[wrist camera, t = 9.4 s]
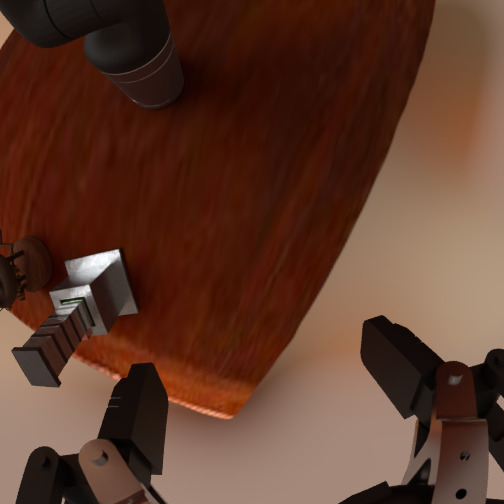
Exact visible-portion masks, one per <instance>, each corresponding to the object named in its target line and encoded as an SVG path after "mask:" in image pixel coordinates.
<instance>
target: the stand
mask: <svg viewBox="0 0 504 504" xmlns="http://www.w3.org/2000/svg"><path fill="white" fill-rule="evenodd" d="M65 265H66V269H67V272H68V275H69V276H68V277H67V278H66V279H64V280H63V281H62V282H61V283H60V284H58V285H57V286H56V287H55V288H54V289H52V290H51V291H50V292H49V293H50V296H51V298H52V301H53V303H54V306H55V308H56V309H57V308H58V307H59V306H60V305H61V304H62V303H63V302H64V301H65V300H66V299H70V298H76V297H82V296H84V297H85V300H86V302H87V305H88V308H89V310H90V313H91V315H92V318H93V320H94V322H93V324H92V325H91V326H90V328H89V329H88V331H87V333H86V334H85V335H84V337H83V338H82V340H89V338H90V336H92V335H102V334H108V333H109V331H110V329H111V327H112V326H113V324H114V322H115V320H116V319H117V317H118V316H119V315H126V314H133V313H138V312H139V308H138V305H137V302H136V299H135V296H134V293H133V290H132V287H131V284H130V280H129V277H128V274H127V270H126V267H125V263H124V260H123V256H122V252H121V249H120V248H118V249H113V250H109V251H104V252H100V253H95V254H91V255H87V256H82V257H78V258H74V259H70V260H66V261H65Z"/></svg>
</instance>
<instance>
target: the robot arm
mask: <svg viewBox="0 0 504 504" xmlns="http://www.w3.org/2000/svg"><path fill="white" fill-rule="evenodd" d="M0 11H1V13H2V14H3V15H4V16H5V18H6V19H7V20H8V21H9V22H10V24H11V25H12V26H13V27H14V28H15V29H16V30H17V32H18V33H19V34H20V35H22V36H23V37H24V38H25V39H26V40H28V41H29V42H30V43H32V44H34V45H36V46H38V47H41V48H53V47H57V46H60V45H63V44H66V43H68V42H71V41H73V40H75V39H77V38H80V37H82V36H84V35H86V37H85V40H84V51H85V55H86V57H87V59H88V60H89V61H90V63H91V64H92V65H94V66H95V67H96V68H97V69H98V70H99V71H100V72H101V73H103V74H104V75H105V76H106V77H107V78H108V79H109V80H111V81H112V82H113V83H114V84H115V85H116V86H117V87H118V88H119V89H121V90H122V91H123V92H124V93H125V94H126V95H127V96H128V97H129V98H130V99H132V100H133V101H134V102H135V103H136V104H137V105H138V106H140V107H142V108H145V109H160V108H163V107H165V106H167V105H169V104H171V103H172V102H173V101H174V100H176V98H177V97H178V96H179V95H180V93H181V91H182V89H183V86H184V76H183V72H182V69H181V65H180V61H179V58H178V54H177V50H176V47H175V43H174V39H173V36H172V33H171V29H170V25H169V21H168V18H167V14H166V10H165V6H164V2H163V0H0ZM360 353H361V359H362V362H363V364H364V366H365V367H366V369H367V370H368V371H369V373H370V374H371V375H372V376H373V378H374V379H375V380H376V381H377V383H378V384H379V386H380V387H381V388H382V390H383V391H384V392H385V393H386V395H387V396H388V398H389V399H390V401H391V402H392V403H393V404H394V405H395V407H396V409H397V410H398V411H399V413H400V414H401V415H402V417H403V418H404V419H407V418H409V417H411V416H412V415H414V414H415V415H416V416H417V418H418V419H417V421H416V426H415V433H414V440H413V446H412V451H411V457H410V462H409V465H408V468H407V470H406V472H405V475H404V477H403V480H402V483H401V485H397V486H390V487H389V485H388V484H387V482H386V481H385V482H382V483H380V484H378V485H376V486H374V487H372V488H369V489H367V490H364V491H362V492H360V493H357V494H354V495H352V496H350V497H349V498H347V499H345V500H344V501H342V502H340V503H339V504H504V500H499V499H488V498H486V494H487V482H488V462H489V461H488V460H489V452H490V453H491V455H492V456H493V457H494V459H495V460H496V462H497V463H498V464H499V466H500V467H501V469H502V470H503V472H504V410H503V409H502V408H501V407H500V406H499V405H498V404H497V400H498V398H499V396H500V395H502V397H503V398H504V349H493V350H491V351H490V352H489V353H488V354H487V356H486V359H485V361H484V363H482V364H479V365H475V366H472V367H468V366H467V365H465V364H464V363H461V362H458V361H449V362H444V361H443V360H442V359H441V358H440V357H439V356H438V355H437V354H436V353H435V352H433V351H432V350H431V349H430V348H429V347H428V346H427V345H426V344H424V343H423V342H421V340H420V339H419V338H418V337H415V335H414V334H413V333H412V332H411V331H410V330H409V329H407V328H406V327H403V326H401V325H399V324H396V323H395V324H392V323H391V322H390V321H389V320H388V319H387V318H386V317H385V316H383V315H381V316H377V317H374V318H371V319H368V320H365V321H364V323H363V329H362V341H361V351H360ZM167 414H168V396H167V393H166V390H165V388H164V386H163V384H162V382H161V379H160V377H159V375H158V373H157V371H156V368H155V366H154V364H153V363H140V364H132V366H131V368H130V371H129V374H128V377H127V378H122V379H121V380H120V381H119V382H118V383H117V384H116V386H115V387H114V389H113V392H112V395H111V399H110V400H109V403H108V408H107V410H106V412H105V416H104V419H103V422H102V425H101V428H100V431H99V434H98V437H97V439H95V440H92V441H89V442H88V443H86V444H85V445H84V446H83V447H82V448H81V450H80V452H79V453H78V454H72V455H63V456H60V455H58V454H57V452H55V450H53V449H52V448H50V447H46V446H43V447H39V448H37V449H35V450H34V451H33V452H32V453H31V455H30V456H29V459H28V462H27V465H26V468H25V471H24V474H23V478H22V481H21V484H20V488H19V492H18V495H17V499H16V504H61V503H62V497H63V498H64V499H65V503H64V504H168V503H167V502H166V501H165V500H164V498H163V497H162V496H161V495H160V494H159V493H158V491H157V490H156V489H155V488H154V486H153V485H152V484H151V483H150V482H151V475H162V468H163V454H164V443H165V433H166V423H167Z"/></svg>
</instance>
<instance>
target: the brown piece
mask: <svg viewBox="0 0 504 504" xmlns="http://www.w3.org/2000/svg"><path fill="white" fill-rule="evenodd" d="M0 247H11V248H10V251H9V255H8V257H7V258H5V257H4V256H3V255H1V254H0V308H2V309H3V308H6V310H7V311H9V310H10V309H11V308H12V304H13V302H14V301H15V300H19V301H23V300H25V293H24V290H25V291H27V292H36V291H38V290H39V289H40V288H42V287H43V286H44V285H45V284H46V283H47V282H48V281H49V279H50V277H51V273H52V263H51V258H50V255H49V252H48V250H47V249H46V247H45V245H44V244H43V243H42V242H41V241H40V240H39V239H37V238H35V237H32V236H28V237H25V238H23V239H20V240H18V241H16V242H15V243H2V235H1V229H0ZM2 309H1V310H2ZM1 310H0V311H1Z"/></svg>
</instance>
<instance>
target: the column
mask: <svg viewBox="0 0 504 504" xmlns="http://www.w3.org/2000/svg"><path fill="white" fill-rule="evenodd" d="M93 322H94V320H93V318H92V315H91V313H90V310H89V308H88V305H87V302H86V300H85V297H84V296H82V297H76V298H70V299H66V300H65V301H64V302H63V303H62V304H61V305H60V306H59V307H58V308H57V309H56V310H55V311H54V312H53V313H52V314H51V316H49V317H48V318H47V320H46V321H45V322H44V323H43V324H42V325H41V326H40V327H39V328H38V330H37V331H36V332H35V333H34V334H33V335H32V336H31V337H30V339H29V340H28V341H27V342H26V343H25V344H24V345H23V347H14V348H13V349H12V353H13V355H14V357H15V359H16V360H17V362H18V364H19V366H20V367H21V369H22V371H23V372H24V374H25V376H26V377H27V379H28V380H29V382H30V383H31V385H34V386H45V387H59V386H60V385H61V382H60V380H59V379H58V376H59V374H60V373H61V371H62V369H63V368H64V366H65V365H66V364H67V362H68V360H69V358H70V357H71V355H72V353H74V351H75V349H76V347H77V346H78V344H79V343H80V342H81V340H82V338H83V337H84V335H85V334H86V333H87V331H88V329H89V328H90V326H91V325H92V324H93Z"/></svg>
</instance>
